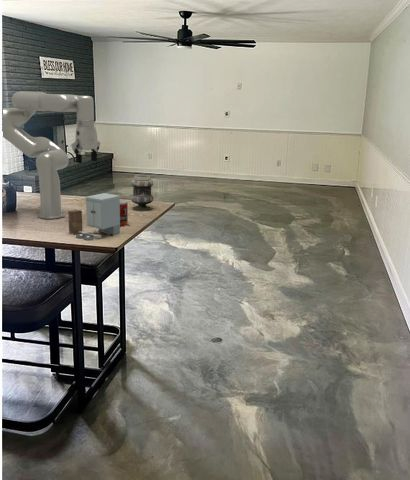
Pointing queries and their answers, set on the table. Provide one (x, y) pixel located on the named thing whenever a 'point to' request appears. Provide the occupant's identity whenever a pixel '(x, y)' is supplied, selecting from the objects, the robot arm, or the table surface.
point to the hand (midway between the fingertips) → (86, 161)
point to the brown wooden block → (78, 223)
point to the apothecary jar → (142, 192)
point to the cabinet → (104, 212)
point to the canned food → (123, 213)
